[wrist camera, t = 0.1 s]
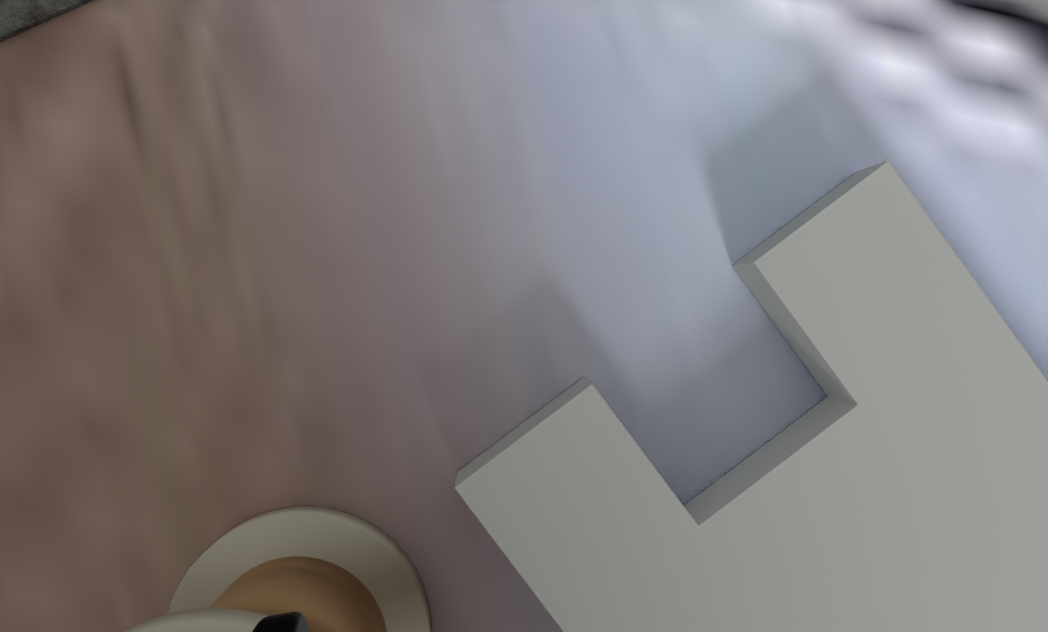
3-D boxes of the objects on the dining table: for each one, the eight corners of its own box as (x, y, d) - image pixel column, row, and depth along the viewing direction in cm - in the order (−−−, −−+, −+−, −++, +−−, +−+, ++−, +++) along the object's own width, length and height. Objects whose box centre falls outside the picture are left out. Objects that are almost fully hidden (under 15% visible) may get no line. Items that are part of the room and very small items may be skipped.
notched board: (1140, 564, 25) (1197, 587, 23) (754, 864, 25) (777, 913, 23) (856, 172, 24) (888, 160, 22) (457, 472, 24) (454, 487, 22)
